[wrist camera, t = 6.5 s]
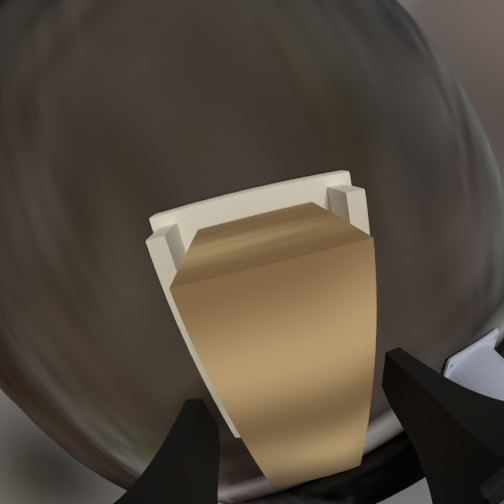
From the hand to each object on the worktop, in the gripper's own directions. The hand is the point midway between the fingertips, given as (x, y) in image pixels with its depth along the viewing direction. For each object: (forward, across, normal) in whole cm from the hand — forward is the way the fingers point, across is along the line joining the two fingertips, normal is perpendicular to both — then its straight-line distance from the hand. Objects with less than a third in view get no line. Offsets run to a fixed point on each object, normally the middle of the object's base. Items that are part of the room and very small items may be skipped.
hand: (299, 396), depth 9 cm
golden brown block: (+3, 0, 0) cm, 3 cm away
